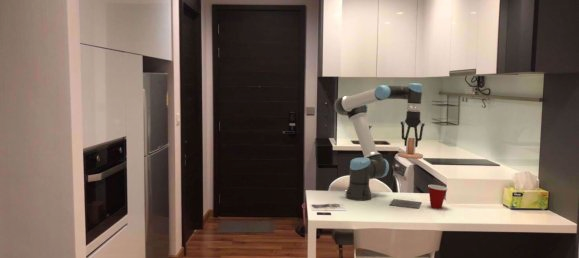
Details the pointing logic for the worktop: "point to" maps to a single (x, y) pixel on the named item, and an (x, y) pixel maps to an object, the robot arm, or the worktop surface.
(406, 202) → the mat
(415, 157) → the lid
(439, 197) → the plastic cup
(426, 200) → the worktop surface
